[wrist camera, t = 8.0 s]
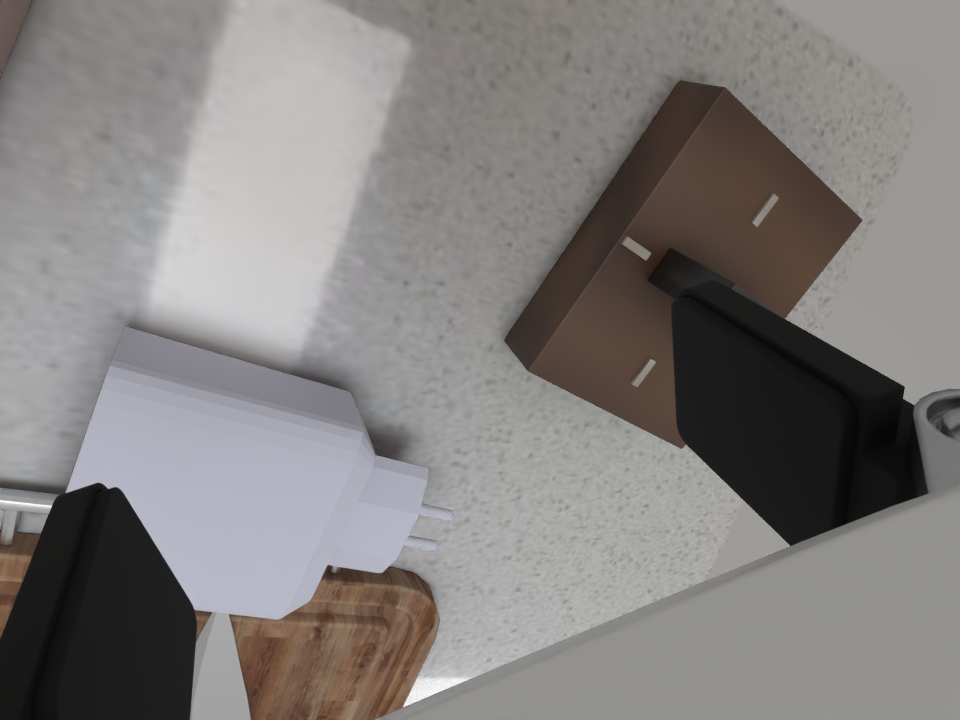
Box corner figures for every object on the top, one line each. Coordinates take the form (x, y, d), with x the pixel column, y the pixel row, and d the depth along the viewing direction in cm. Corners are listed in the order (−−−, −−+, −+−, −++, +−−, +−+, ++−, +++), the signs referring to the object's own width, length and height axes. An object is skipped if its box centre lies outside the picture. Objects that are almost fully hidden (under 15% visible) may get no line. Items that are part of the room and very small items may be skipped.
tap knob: (647, 280, 27) (711, 323, 23) (670, 247, 27) (740, 286, 23) (728, 335, 30) (798, 381, 26) (751, 305, 29) (825, 348, 26)
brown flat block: (680, 79, 27) (728, 87, 24) (813, 203, 32) (866, 221, 29) (503, 340, 30) (528, 373, 27) (650, 417, 35) (683, 451, 32)
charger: (392, 575, 34) (57, 520, 27) (470, 420, 31) (126, 318, 25) (415, 647, 29) (25, 604, 23) (506, 474, 27) (105, 370, 20)
